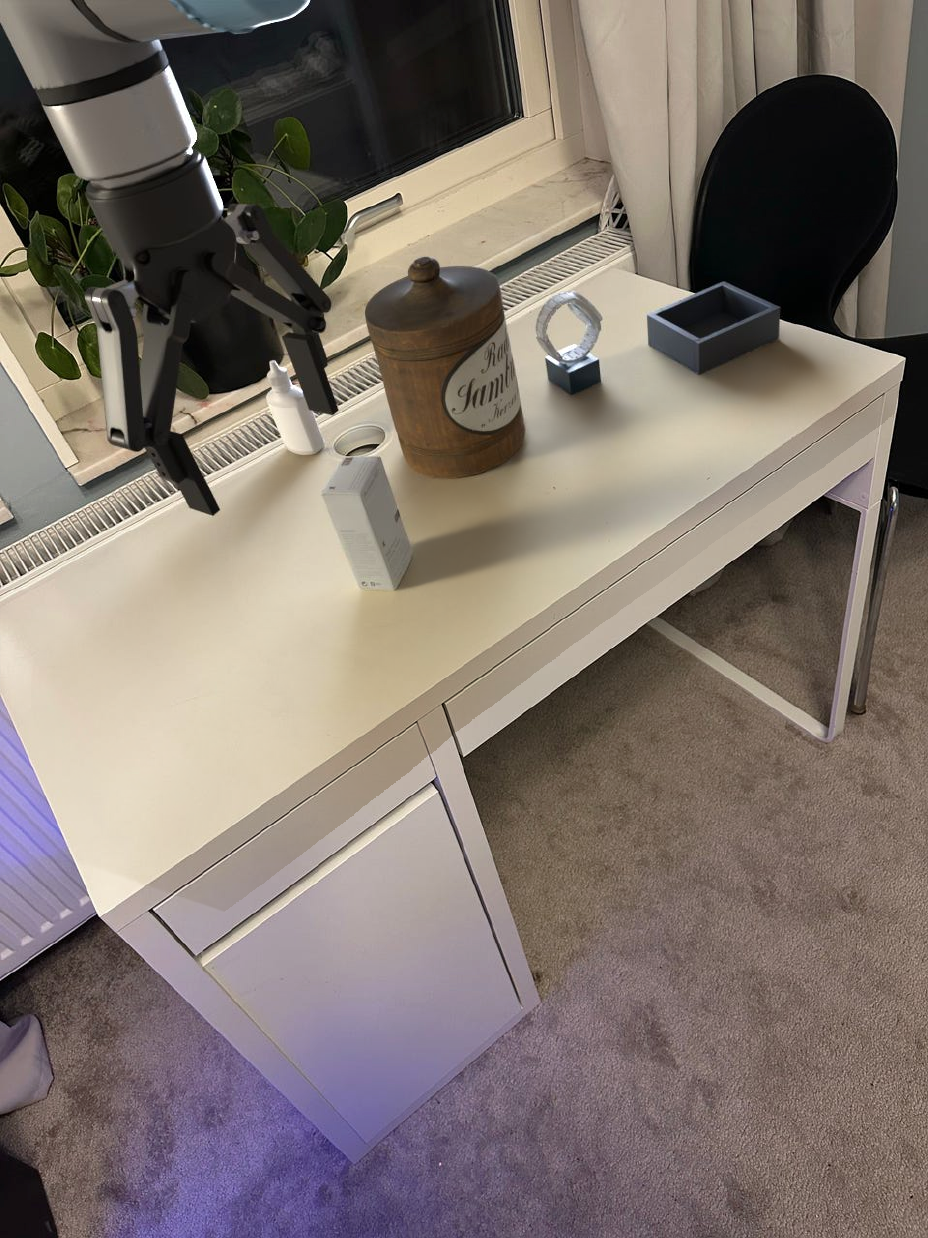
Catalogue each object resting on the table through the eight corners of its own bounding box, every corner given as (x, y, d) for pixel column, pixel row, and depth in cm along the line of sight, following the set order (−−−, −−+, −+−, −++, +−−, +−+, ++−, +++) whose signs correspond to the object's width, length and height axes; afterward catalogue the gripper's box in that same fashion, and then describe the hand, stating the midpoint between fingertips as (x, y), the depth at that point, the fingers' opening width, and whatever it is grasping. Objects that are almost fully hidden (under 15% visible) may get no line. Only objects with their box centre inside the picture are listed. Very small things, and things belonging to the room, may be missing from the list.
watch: (614, 375, 104) (607, 289, 97) (559, 401, 103) (547, 315, 95) (589, 360, 108) (580, 276, 101) (535, 384, 106) (522, 301, 99)
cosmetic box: (397, 592, 84) (362, 494, 75) (356, 590, 85) (318, 495, 77) (415, 550, 88) (384, 454, 79) (375, 550, 89) (341, 455, 81)
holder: (778, 339, 102) (780, 307, 100) (699, 375, 100) (698, 343, 98) (723, 311, 110) (723, 280, 107) (648, 344, 108) (646, 314, 105)
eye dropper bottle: (297, 463, 105) (262, 377, 96) (283, 445, 109) (248, 360, 100) (329, 449, 106) (296, 362, 97) (313, 431, 109) (281, 346, 101)
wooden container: (500, 484, 93) (460, 291, 78) (384, 475, 99) (325, 295, 84) (542, 409, 102) (513, 224, 87) (433, 405, 108) (388, 231, 93)
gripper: (242, 95, 59) (334, 368, 74) (-72, 251, 46) (115, 544, 61) (319, 90, 55) (400, 380, 70) (-1, 260, 42) (180, 570, 57)
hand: (267, 457), depth 65 cm, fingers open, 13 cm apart
